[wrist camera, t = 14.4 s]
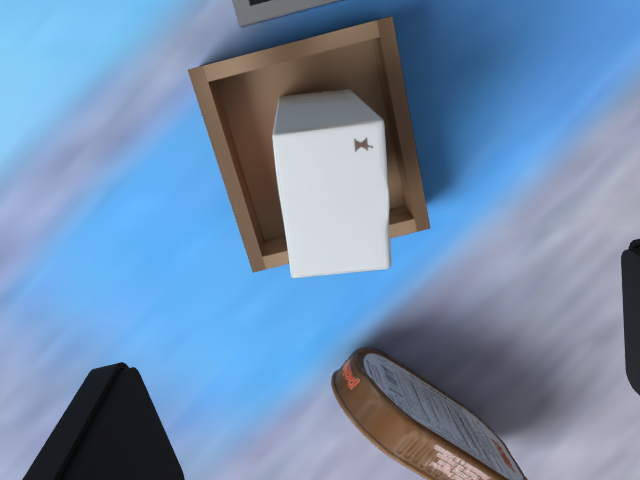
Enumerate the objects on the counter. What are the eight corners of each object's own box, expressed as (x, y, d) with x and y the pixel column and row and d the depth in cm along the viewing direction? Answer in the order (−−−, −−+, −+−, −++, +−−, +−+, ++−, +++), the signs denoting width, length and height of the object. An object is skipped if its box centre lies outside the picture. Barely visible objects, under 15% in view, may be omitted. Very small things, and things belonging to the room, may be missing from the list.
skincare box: (276, 95, 30) (269, 128, 19) (350, 87, 30) (388, 115, 19) (288, 198, 32) (289, 282, 21) (358, 190, 32) (396, 270, 21)
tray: (380, 18, 29) (392, 15, 26) (416, 210, 34) (430, 228, 30) (198, 66, 30) (187, 69, 27) (256, 250, 34) (252, 272, 31)
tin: (323, 353, 37) (334, 436, 29) (352, 321, 36) (369, 398, 28) (476, 449, 41) (521, 547, 33) (504, 422, 40) (557, 515, 32)
